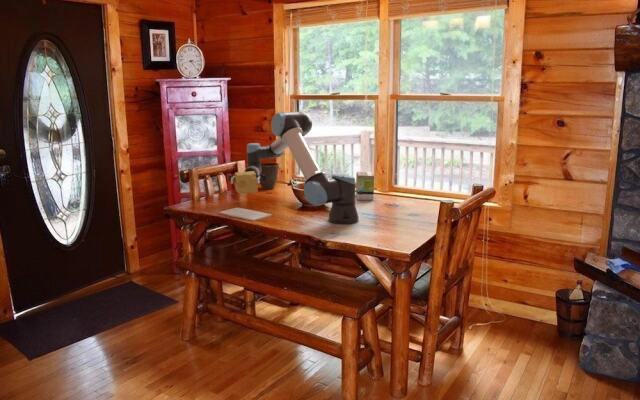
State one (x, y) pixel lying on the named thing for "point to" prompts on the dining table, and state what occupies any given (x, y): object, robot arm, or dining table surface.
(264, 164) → the plant pot
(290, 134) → the robot arm
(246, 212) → the mat
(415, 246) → the dining table surface
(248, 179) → the cheese
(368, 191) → the tea box
